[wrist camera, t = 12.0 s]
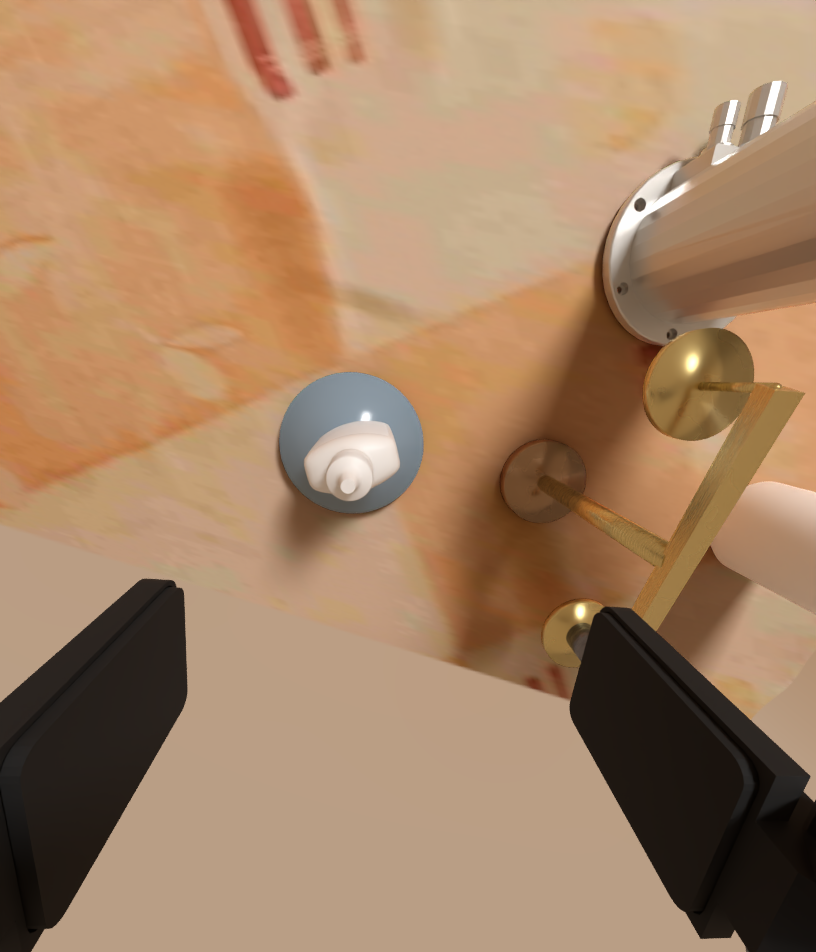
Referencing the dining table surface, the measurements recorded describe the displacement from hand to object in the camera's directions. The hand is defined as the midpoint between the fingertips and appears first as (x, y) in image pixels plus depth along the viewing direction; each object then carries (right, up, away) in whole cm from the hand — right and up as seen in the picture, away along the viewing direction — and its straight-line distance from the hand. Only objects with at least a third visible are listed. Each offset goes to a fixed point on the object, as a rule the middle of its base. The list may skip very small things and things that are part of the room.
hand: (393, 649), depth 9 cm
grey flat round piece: (-4, +7, +22) cm, 23 cm away
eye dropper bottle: (-4, +6, +21) cm, 22 cm away
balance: (+12, +4, +24) cm, 27 cm away
